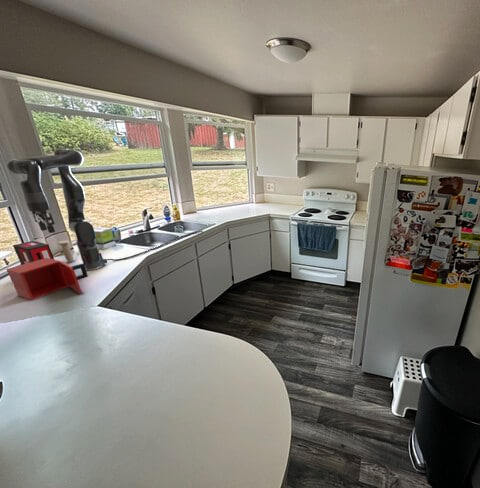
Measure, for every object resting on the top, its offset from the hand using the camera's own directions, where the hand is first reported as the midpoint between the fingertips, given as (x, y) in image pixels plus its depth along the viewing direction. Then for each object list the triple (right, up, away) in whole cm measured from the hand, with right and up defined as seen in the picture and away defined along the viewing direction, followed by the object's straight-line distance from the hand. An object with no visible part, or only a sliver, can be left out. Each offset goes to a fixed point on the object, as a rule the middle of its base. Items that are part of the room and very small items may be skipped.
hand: (48, 231), depth 132 cm
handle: (-32, -20, +44) cm, 58 cm away
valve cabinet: (-11, -33, +8) cm, 36 cm away
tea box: (-36, -9, +72) cm, 81 cm away
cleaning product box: (-32, -26, +26) cm, 48 cm away
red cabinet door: (+7, -32, +12) cm, 35 cm away
